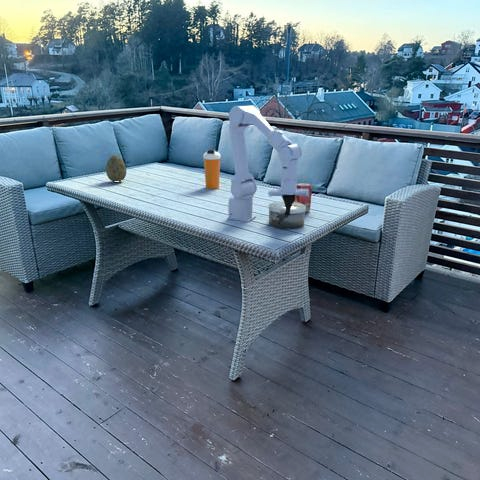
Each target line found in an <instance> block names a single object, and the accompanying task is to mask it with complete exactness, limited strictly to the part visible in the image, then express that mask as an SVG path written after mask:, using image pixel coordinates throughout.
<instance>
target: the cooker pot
mask: <svg viewBox="0 0 480 480" xmlns="http://www.w3.org/2000/svg"><path fill="white" fill-rule="evenodd" d="M278 214H279V213H275V212H272V211H270V210H269V209H268V224H269V226H271V227H272V228H275V229H281V230H298V229H301V228H303V227H304V226H305V220H306V219H305V217H306V216H305V215H306V213H305V212H303V213H299V214H290V215H285V217H284V218H279V217H278Z"/></svg>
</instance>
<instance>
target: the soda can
mask: <svg viewBox="0 0 480 480" xmlns="http://www.w3.org/2000/svg"><path fill="white" fill-rule="evenodd" d="M297 189H308V190H309V195H308V196H306V195H295V197H296V198H295V201H294V202H298V203H301V204H304V205H305V206H306V211H305V214H306V213H309V212H310V211H311V204H312V187H311V184H310V183H308V182H297Z"/></svg>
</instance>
